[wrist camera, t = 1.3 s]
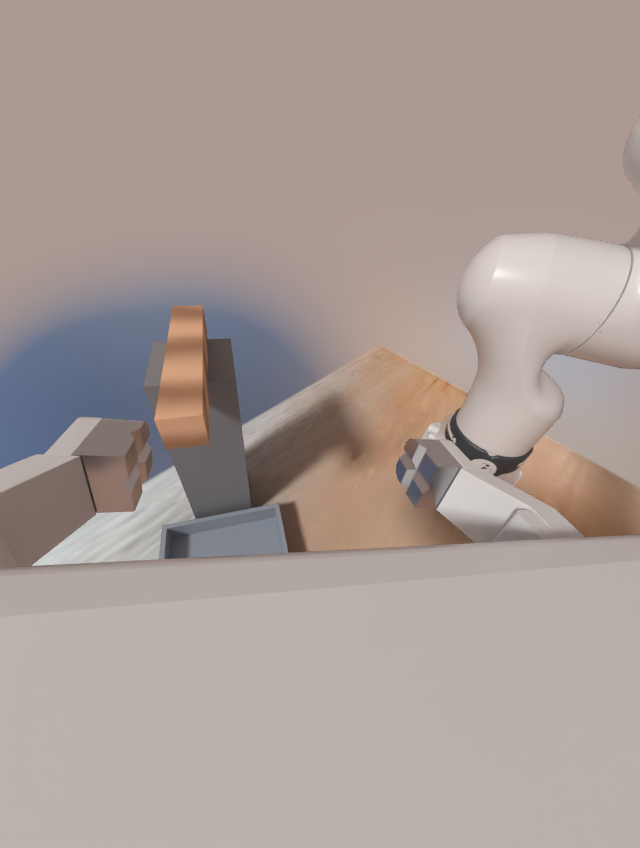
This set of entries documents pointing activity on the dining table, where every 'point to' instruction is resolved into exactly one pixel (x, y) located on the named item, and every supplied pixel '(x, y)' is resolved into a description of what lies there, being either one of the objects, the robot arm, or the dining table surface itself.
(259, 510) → the tray
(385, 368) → the dining table surface
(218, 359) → the post
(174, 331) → the rectangular block
